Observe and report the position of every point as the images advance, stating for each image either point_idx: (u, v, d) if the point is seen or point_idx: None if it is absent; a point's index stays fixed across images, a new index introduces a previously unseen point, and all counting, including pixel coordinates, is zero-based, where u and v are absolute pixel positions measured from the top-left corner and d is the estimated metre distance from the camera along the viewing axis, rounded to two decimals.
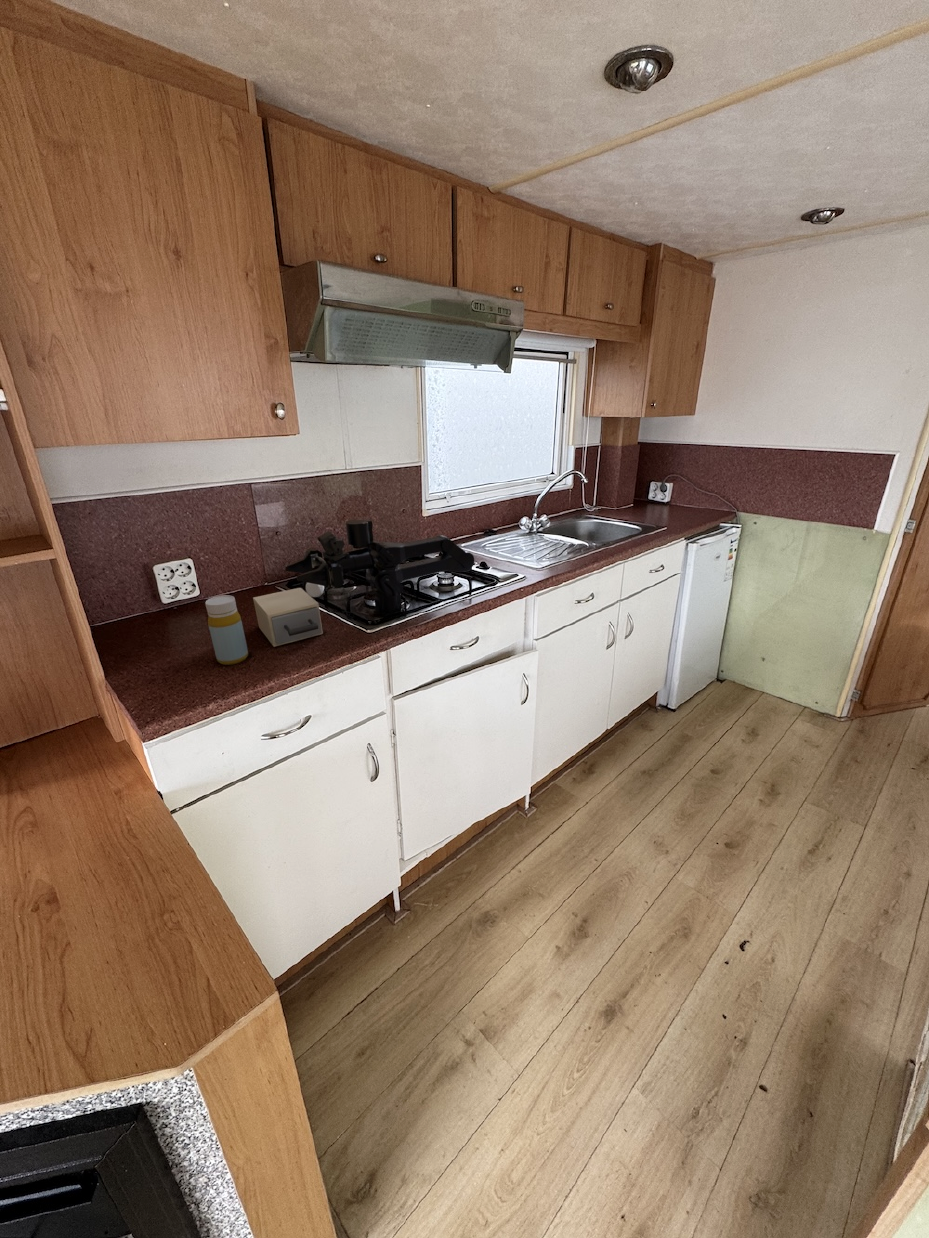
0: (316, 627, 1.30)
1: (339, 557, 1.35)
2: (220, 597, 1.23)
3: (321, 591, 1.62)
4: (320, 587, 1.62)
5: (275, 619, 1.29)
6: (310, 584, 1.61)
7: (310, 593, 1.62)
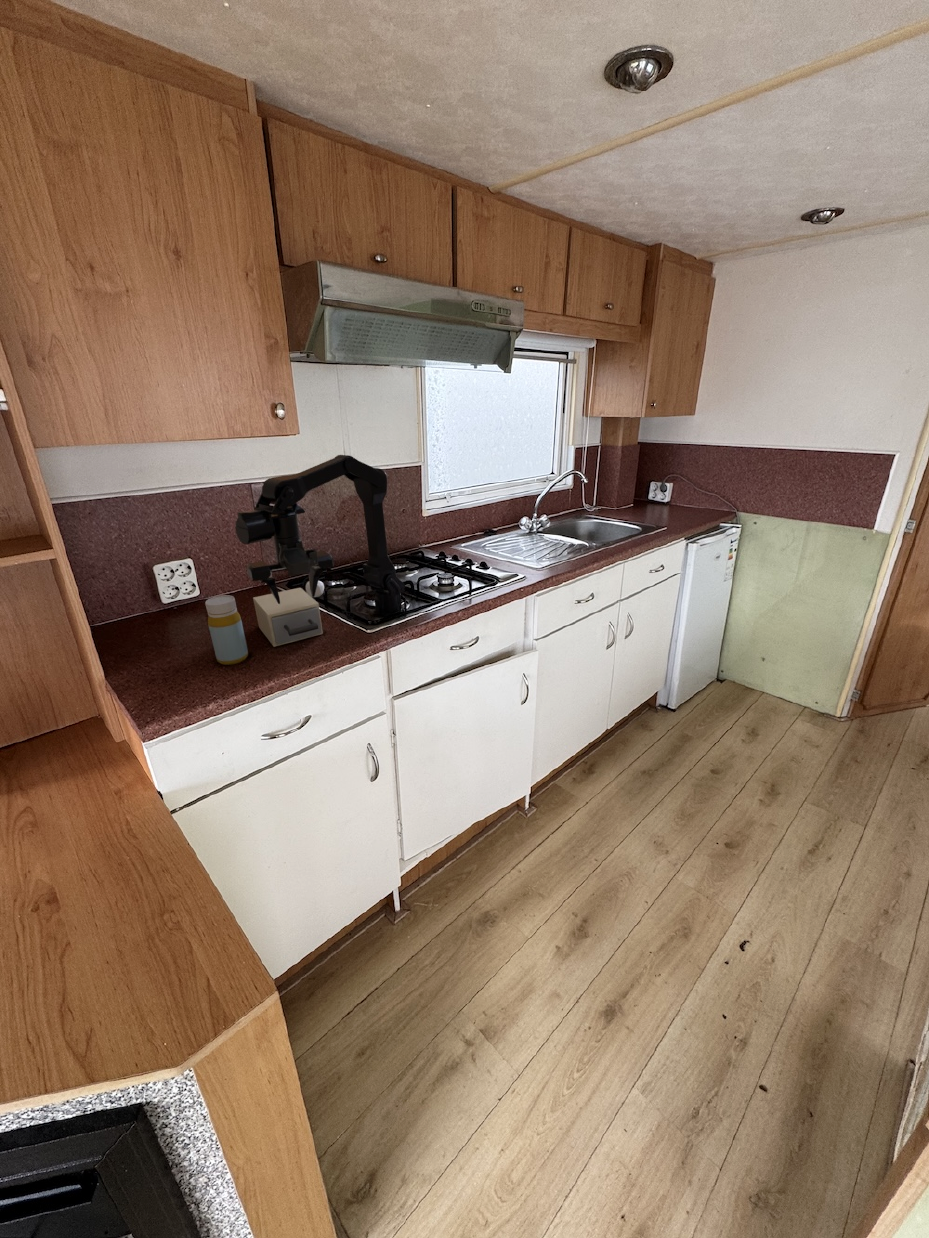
0: (316, 627, 1.30)
1: None
2: (220, 597, 1.23)
3: (321, 591, 1.62)
4: (320, 587, 1.62)
5: (275, 619, 1.29)
6: None
7: (310, 593, 1.62)
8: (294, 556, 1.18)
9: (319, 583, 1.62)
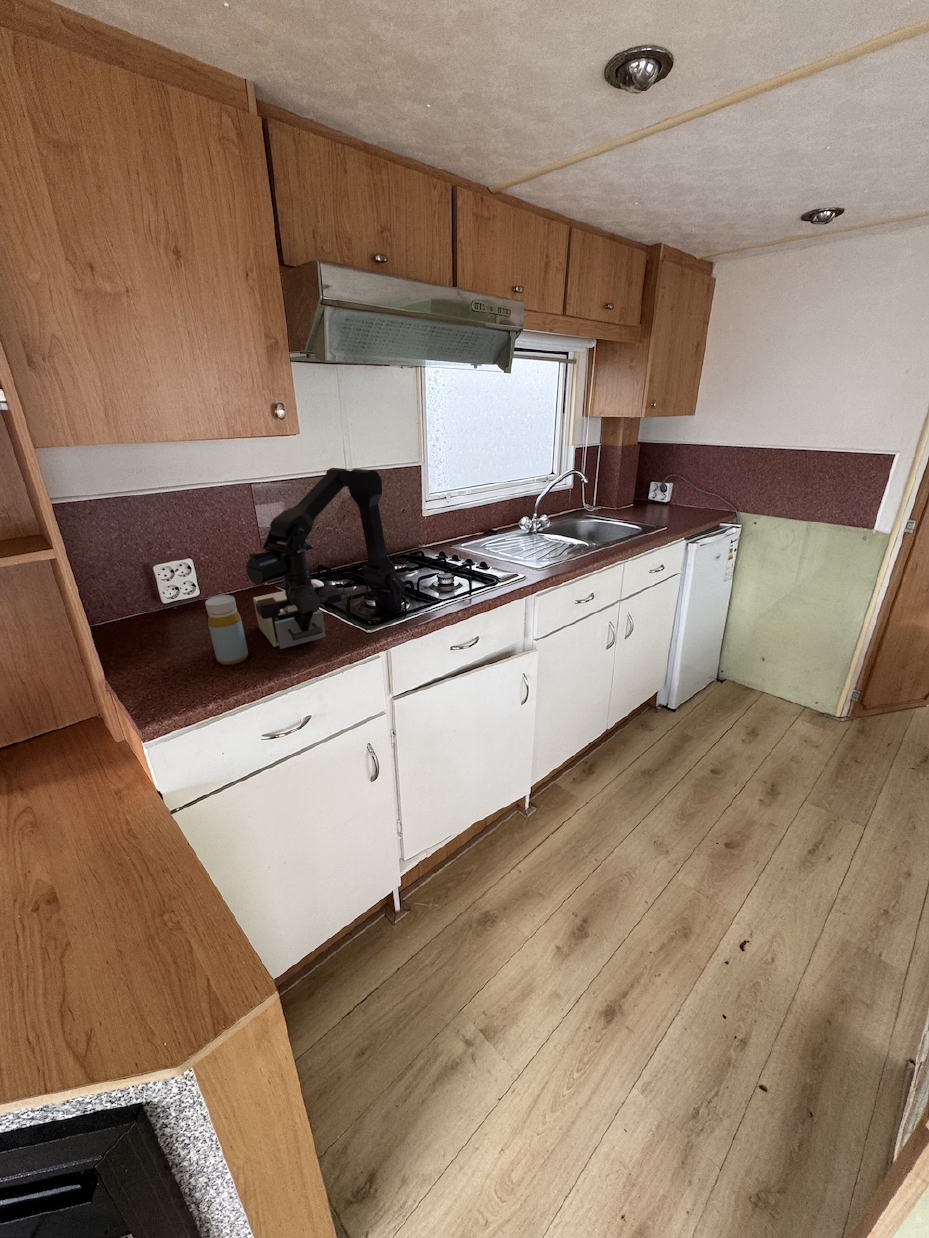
0: (320, 631, 1.28)
1: None
2: (220, 597, 1.23)
3: None
4: None
5: (278, 623, 1.27)
6: None
7: None
8: (303, 594, 1.18)
9: (319, 583, 1.62)
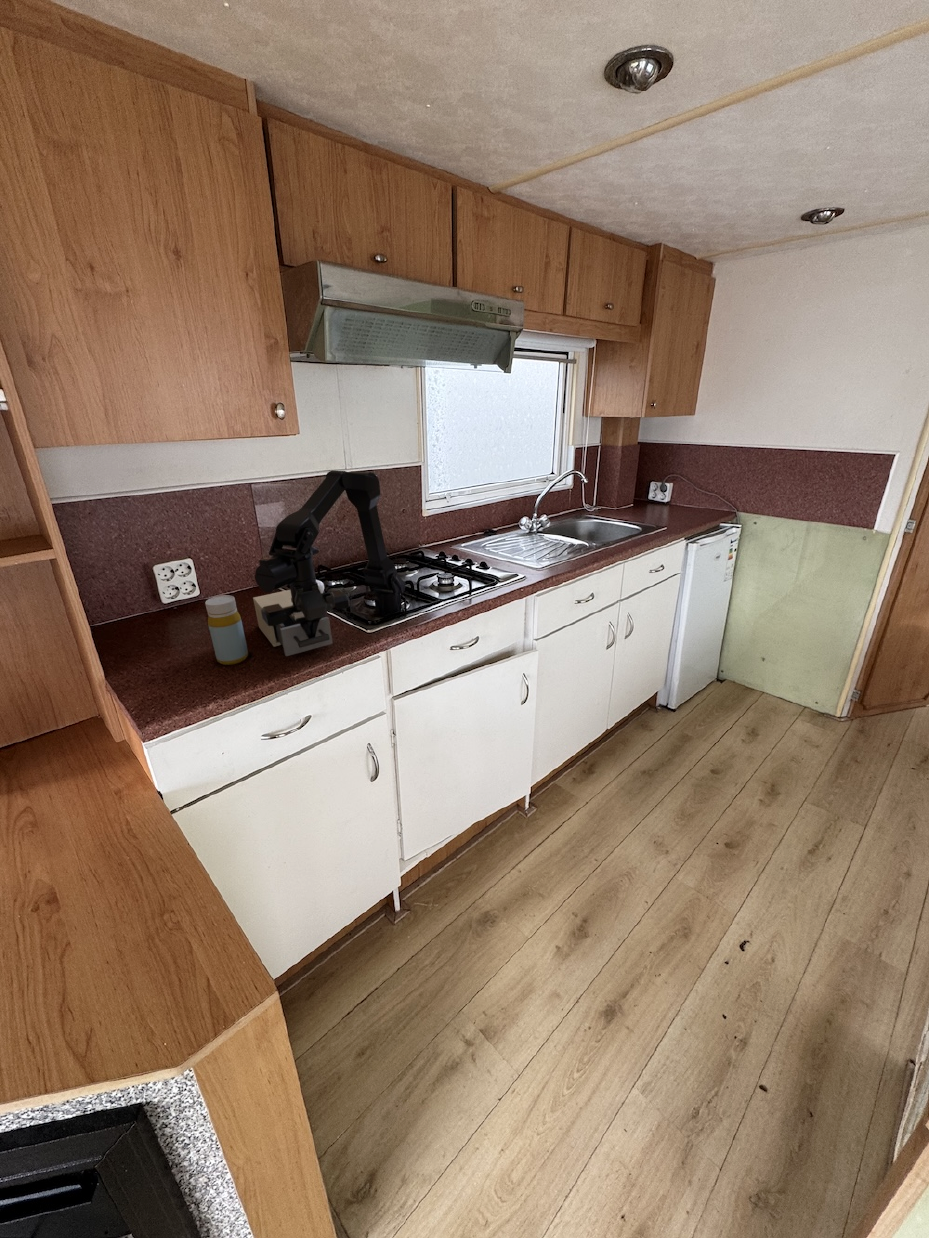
0: (327, 638, 1.24)
1: None
2: (220, 597, 1.23)
3: (321, 591, 1.62)
4: (320, 587, 1.62)
5: (284, 630, 1.23)
6: None
7: None
8: (310, 600, 1.15)
9: (319, 583, 1.62)
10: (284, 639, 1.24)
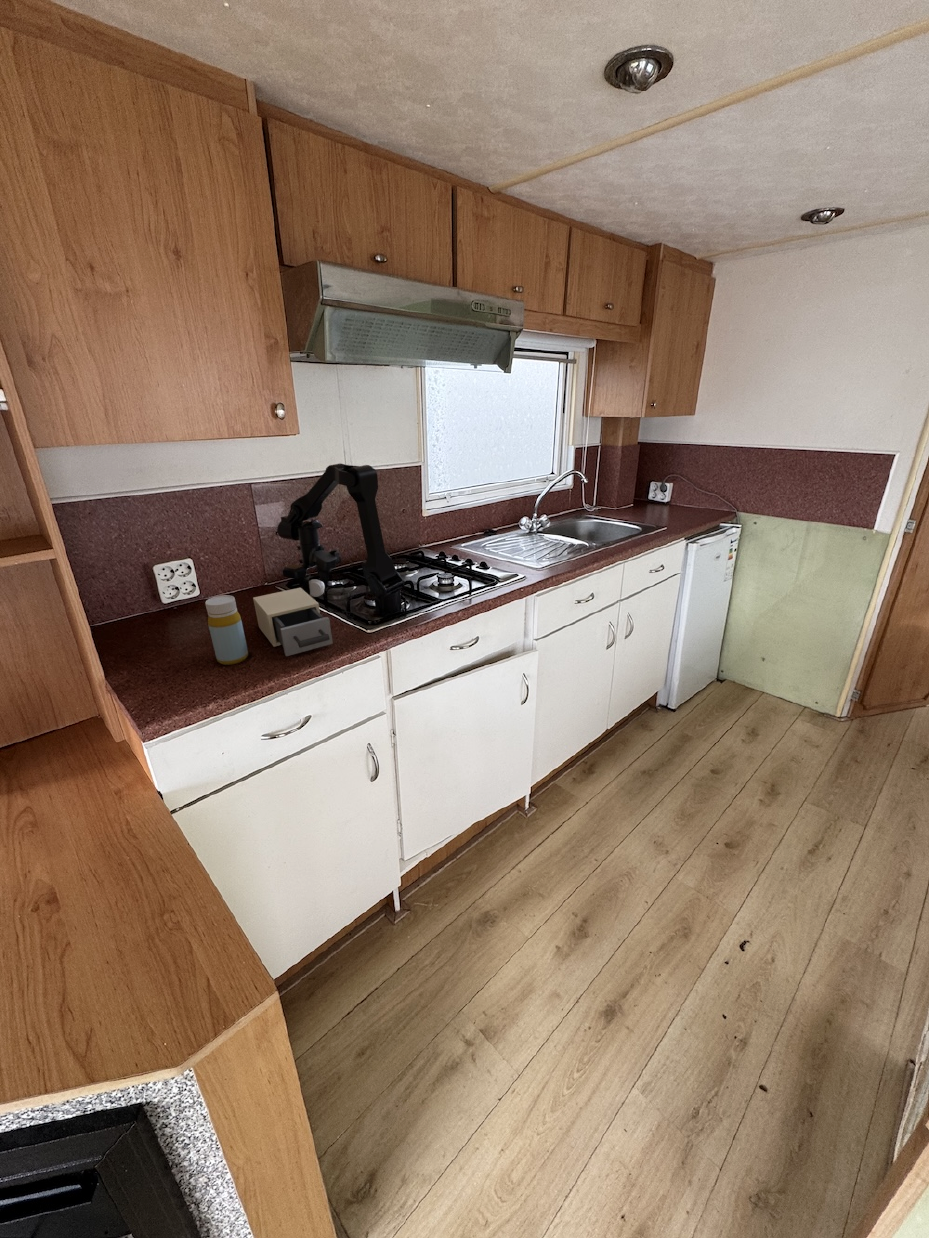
0: (327, 638, 1.24)
1: None
2: (220, 597, 1.23)
3: (322, 591, 1.62)
4: (321, 587, 1.62)
5: (284, 630, 1.23)
6: (311, 584, 1.61)
7: (311, 593, 1.62)
8: (324, 556, 1.57)
9: (320, 583, 1.62)
10: (284, 639, 1.24)
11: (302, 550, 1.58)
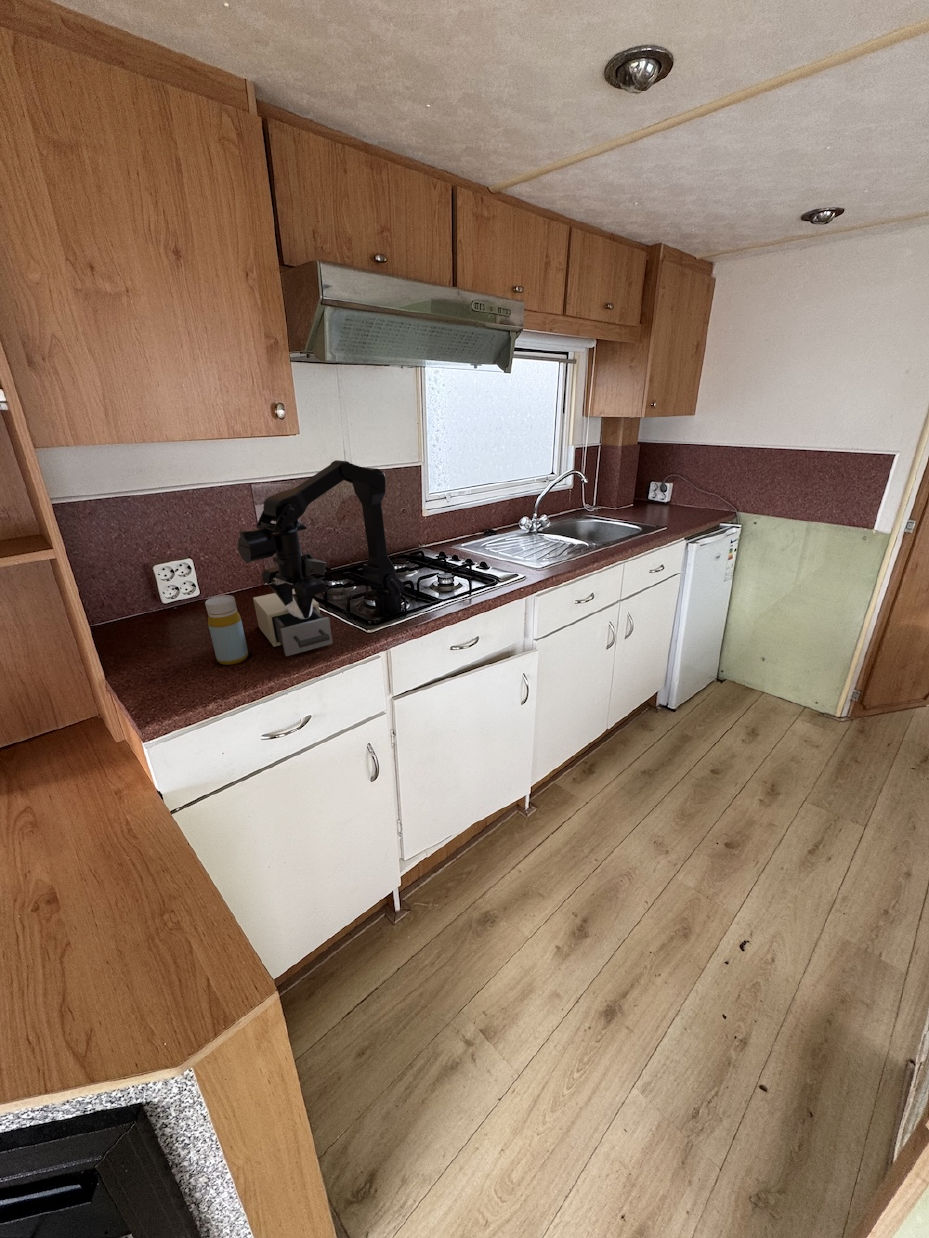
0: (327, 638, 1.24)
1: None
2: (220, 597, 1.23)
3: None
4: None
5: (284, 630, 1.23)
6: None
7: None
8: (313, 560, 1.28)
9: None
10: (284, 639, 1.24)
11: (294, 562, 1.22)
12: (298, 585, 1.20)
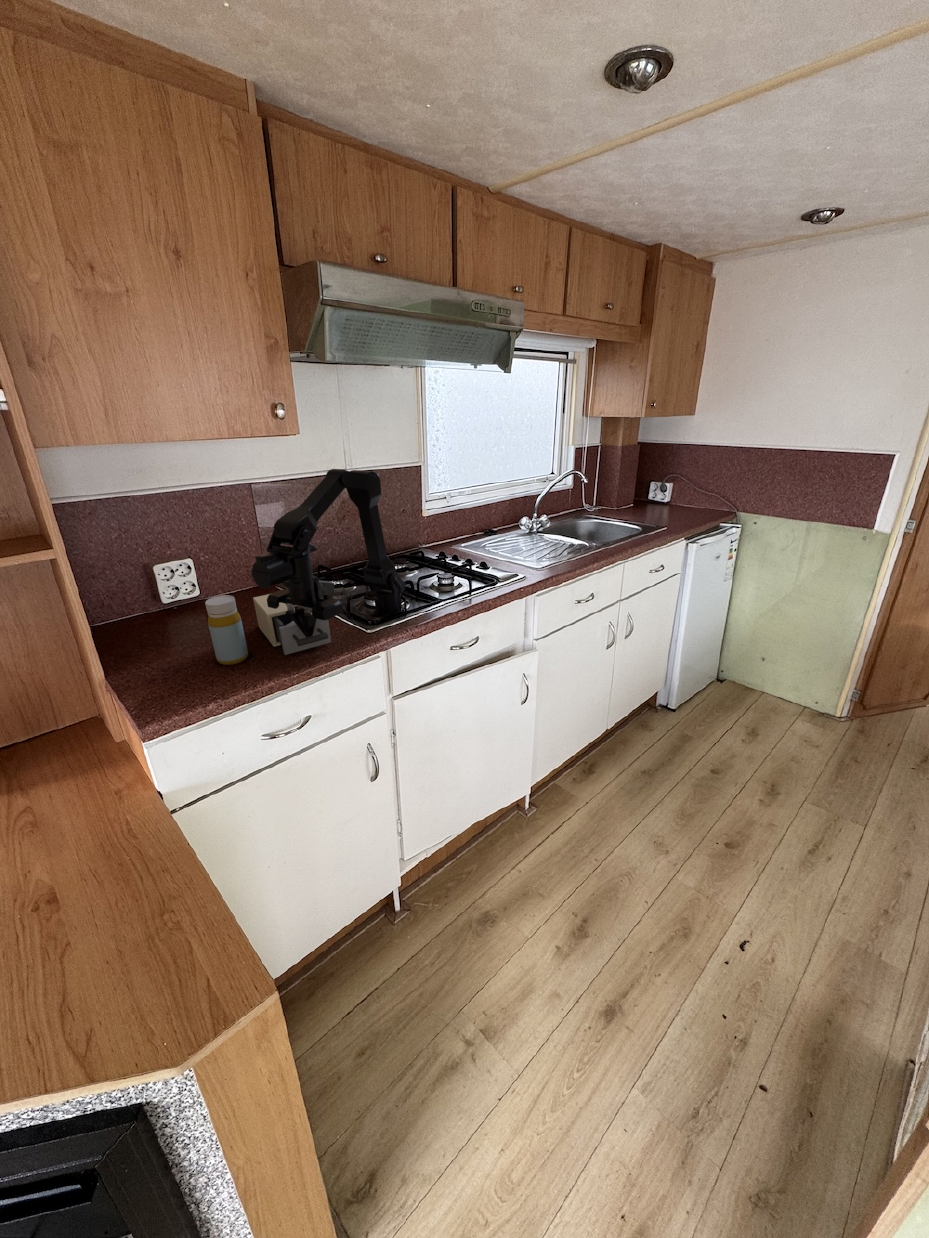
0: (326, 637, 1.25)
1: None
2: (220, 597, 1.23)
3: None
4: None
5: (283, 628, 1.24)
6: None
7: None
8: (322, 581, 1.25)
9: None
10: (283, 638, 1.25)
11: (308, 584, 1.19)
12: (317, 608, 1.17)
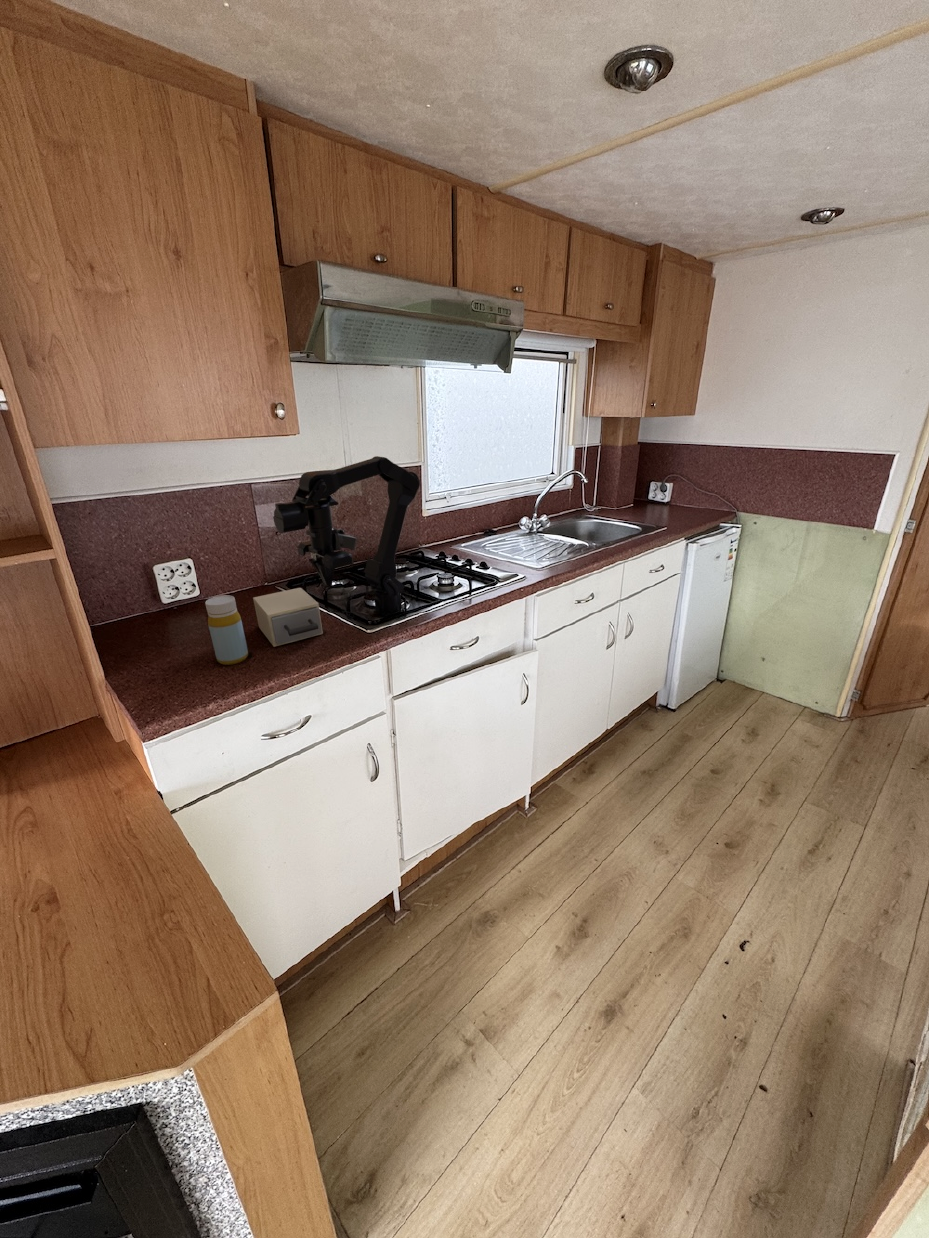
0: (316, 627, 1.30)
1: None
2: (220, 597, 1.23)
3: None
4: None
5: (275, 619, 1.29)
6: None
7: None
8: (344, 535, 1.35)
9: None
10: (275, 628, 1.30)
11: (325, 535, 1.29)
12: (326, 557, 1.26)
